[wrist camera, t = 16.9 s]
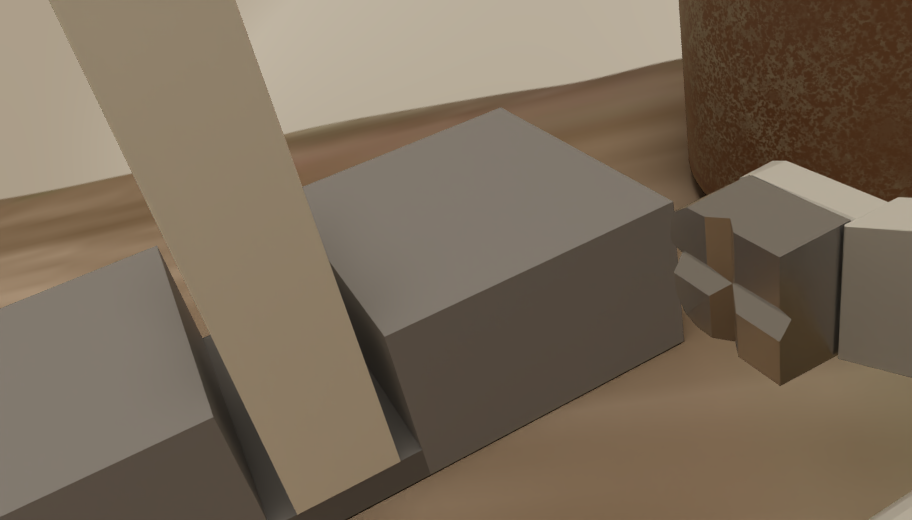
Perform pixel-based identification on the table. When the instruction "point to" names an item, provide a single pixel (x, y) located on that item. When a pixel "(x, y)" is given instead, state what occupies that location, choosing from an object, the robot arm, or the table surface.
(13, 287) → the table surface
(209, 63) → the notched plate
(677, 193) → the table surface
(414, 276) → the slotted board
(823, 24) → the planter
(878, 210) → the robot arm
